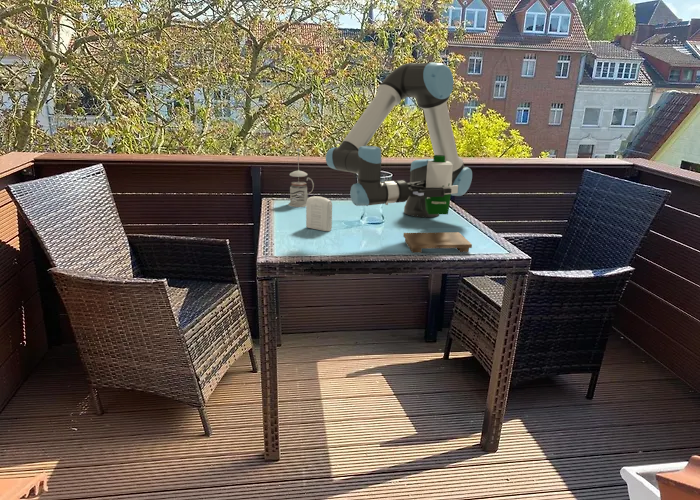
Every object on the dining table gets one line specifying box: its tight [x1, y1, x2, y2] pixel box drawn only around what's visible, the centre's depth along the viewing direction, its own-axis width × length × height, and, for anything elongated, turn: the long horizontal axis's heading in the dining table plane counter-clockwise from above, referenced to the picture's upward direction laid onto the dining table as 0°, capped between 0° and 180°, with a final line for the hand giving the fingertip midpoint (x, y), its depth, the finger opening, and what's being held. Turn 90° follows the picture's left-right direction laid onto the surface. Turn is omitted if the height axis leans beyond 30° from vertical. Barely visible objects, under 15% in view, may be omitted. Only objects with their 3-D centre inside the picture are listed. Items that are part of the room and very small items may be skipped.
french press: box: [287, 148, 315, 208], centre depth 219 cm, size 10×12×25 cm
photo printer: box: [305, 195, 333, 232], centre depth 184 cm, size 10×4×12 cm, turn 61°
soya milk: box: [425, 155, 453, 215], centre depth 176 cm, size 9×9×20 cm
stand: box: [402, 231, 473, 254], centre depth 168 cm, size 20×14×3 cm
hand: (450, 186), depth 178 cm, fingers closed on soya milk, 8 cm apart
